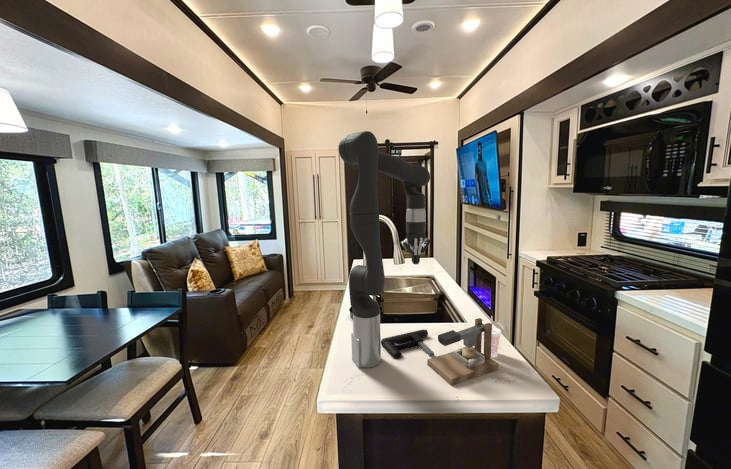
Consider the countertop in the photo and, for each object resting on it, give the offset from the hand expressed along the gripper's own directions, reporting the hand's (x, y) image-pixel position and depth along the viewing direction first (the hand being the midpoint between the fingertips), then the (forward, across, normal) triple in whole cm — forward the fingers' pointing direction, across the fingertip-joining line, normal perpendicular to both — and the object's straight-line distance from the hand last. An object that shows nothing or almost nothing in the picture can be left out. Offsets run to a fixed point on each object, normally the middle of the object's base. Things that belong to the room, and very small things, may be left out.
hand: (415, 263), depth 119 cm
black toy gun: (+30, -8, -9) cm, 32 cm away
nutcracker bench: (+29, 0, -27) cm, 40 cm away
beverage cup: (+29, +15, -25) cm, 41 cm away
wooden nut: (+27, +3, -27) cm, 38 cm away
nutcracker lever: (+22, +1, -27) cm, 35 cm away
